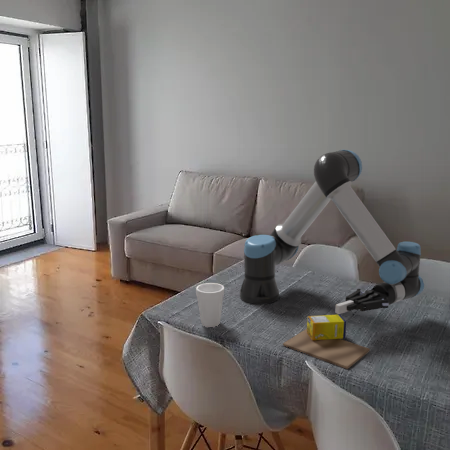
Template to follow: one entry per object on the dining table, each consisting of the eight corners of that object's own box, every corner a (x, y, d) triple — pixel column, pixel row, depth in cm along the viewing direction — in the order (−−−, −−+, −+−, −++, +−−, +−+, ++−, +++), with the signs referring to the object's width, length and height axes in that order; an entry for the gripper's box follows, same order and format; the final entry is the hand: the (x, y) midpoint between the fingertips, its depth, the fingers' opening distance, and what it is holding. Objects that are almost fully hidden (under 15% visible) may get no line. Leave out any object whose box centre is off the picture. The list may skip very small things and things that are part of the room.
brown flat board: (282, 345, 157) (282, 343, 157) (307, 330, 167) (307, 328, 167) (347, 369, 143) (347, 366, 143) (369, 351, 153) (369, 348, 153)
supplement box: (339, 331, 165) (306, 333, 164) (340, 313, 164) (307, 315, 163) (345, 339, 160) (311, 341, 158) (346, 321, 158) (312, 323, 157)
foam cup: (228, 320, 176) (228, 284, 173) (219, 331, 168) (218, 294, 164) (202, 316, 179) (202, 281, 176) (192, 327, 171) (191, 291, 168)
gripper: (403, 310, 165) (352, 328, 152) (371, 297, 176) (321, 313, 163) (404, 288, 163) (354, 304, 151) (372, 277, 174) (322, 291, 161)
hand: (337, 309), depth 157 cm, fingers closed
